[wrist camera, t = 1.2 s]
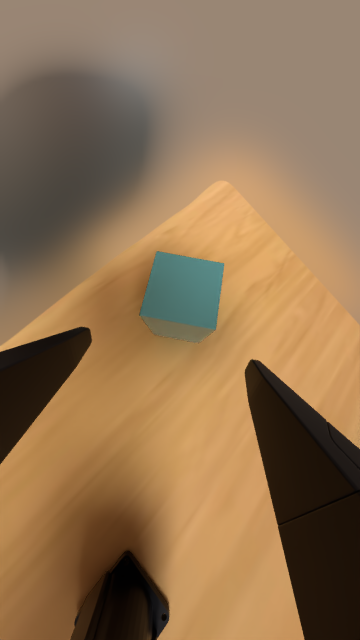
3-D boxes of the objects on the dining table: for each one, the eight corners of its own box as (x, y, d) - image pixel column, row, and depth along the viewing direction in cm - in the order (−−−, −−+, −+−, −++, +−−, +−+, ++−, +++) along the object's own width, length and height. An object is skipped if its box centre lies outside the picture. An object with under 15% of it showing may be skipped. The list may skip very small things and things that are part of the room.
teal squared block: (198, 343, 22) (215, 329, 13) (153, 334, 22) (139, 315, 13) (205, 301, 24) (224, 263, 15) (163, 293, 24) (156, 251, 15)
